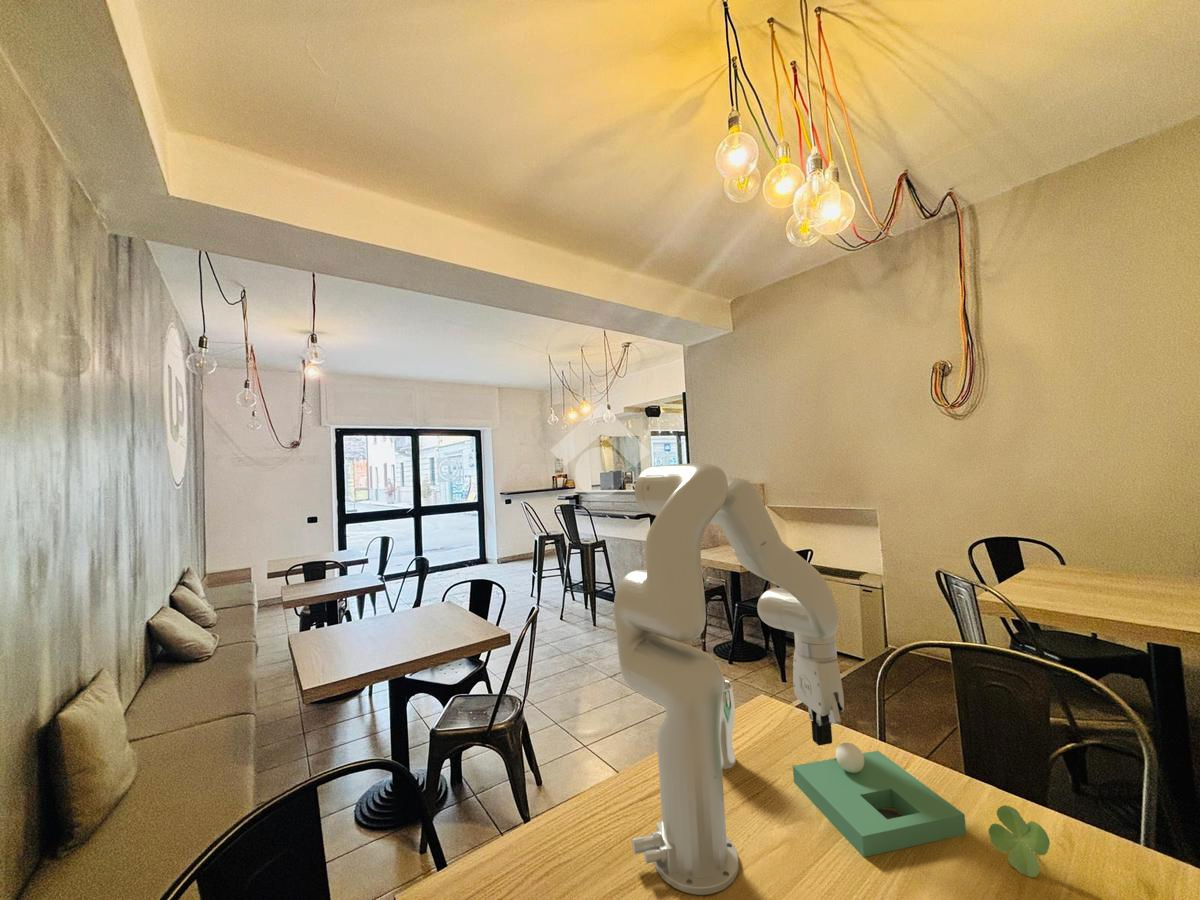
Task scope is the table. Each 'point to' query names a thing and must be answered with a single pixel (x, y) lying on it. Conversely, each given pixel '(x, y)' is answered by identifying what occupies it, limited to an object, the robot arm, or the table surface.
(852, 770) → the ball
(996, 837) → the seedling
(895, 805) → the putting board
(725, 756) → the white bottle
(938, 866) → the table surface
